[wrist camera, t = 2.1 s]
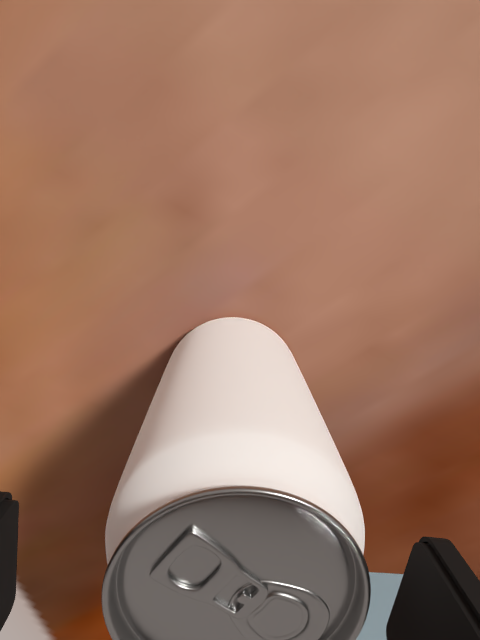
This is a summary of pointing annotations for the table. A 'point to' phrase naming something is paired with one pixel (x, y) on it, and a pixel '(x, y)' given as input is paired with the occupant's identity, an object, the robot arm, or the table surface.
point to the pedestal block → (380, 605)
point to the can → (234, 504)
